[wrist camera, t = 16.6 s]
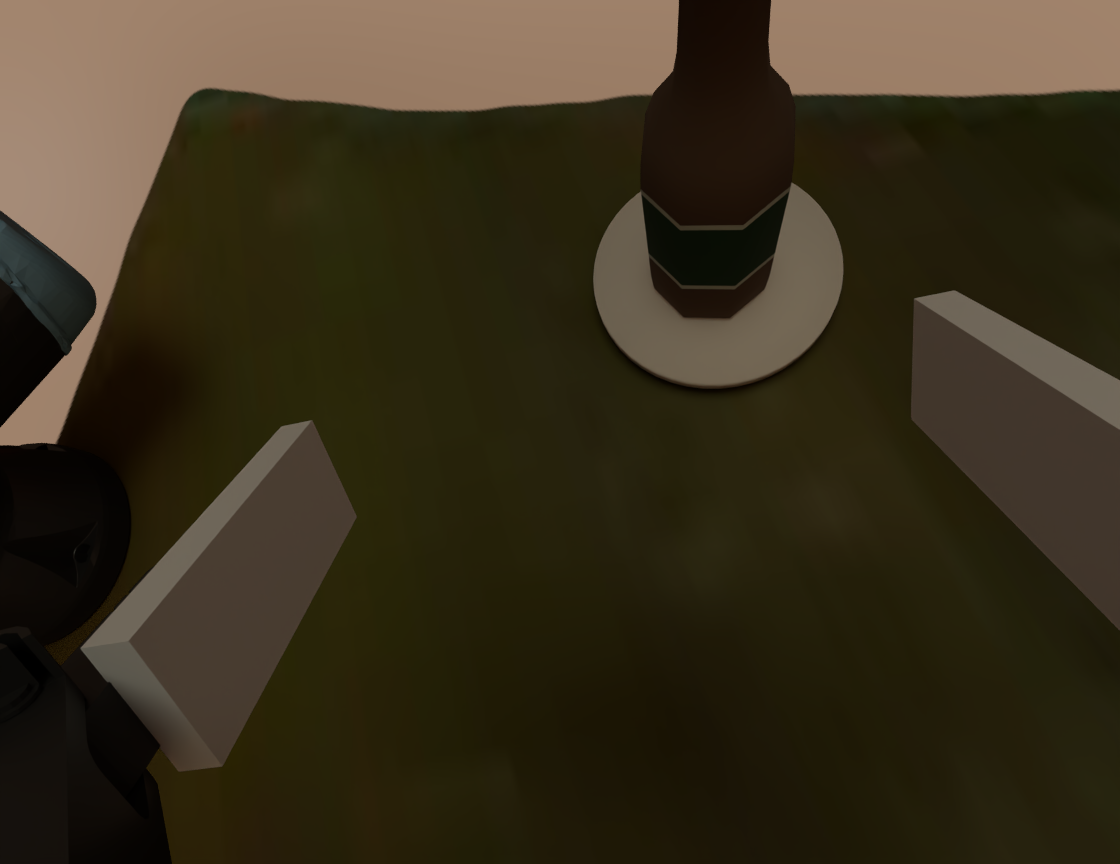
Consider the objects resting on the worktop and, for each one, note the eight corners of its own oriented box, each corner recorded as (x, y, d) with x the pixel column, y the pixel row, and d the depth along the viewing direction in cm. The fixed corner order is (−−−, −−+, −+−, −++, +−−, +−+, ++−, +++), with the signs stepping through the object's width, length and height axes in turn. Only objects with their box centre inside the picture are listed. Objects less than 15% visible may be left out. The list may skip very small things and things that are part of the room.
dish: (553, 278, 46) (547, 264, 45) (725, 143, 47) (727, 123, 45) (697, 442, 41) (698, 434, 39) (890, 289, 41) (900, 274, 40)
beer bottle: (629, 299, 43) (560, -51, 20) (682, 204, 44) (673, -231, 21) (739, 344, 40) (800, 6, 18) (791, 242, 41) (913, -198, 19)
